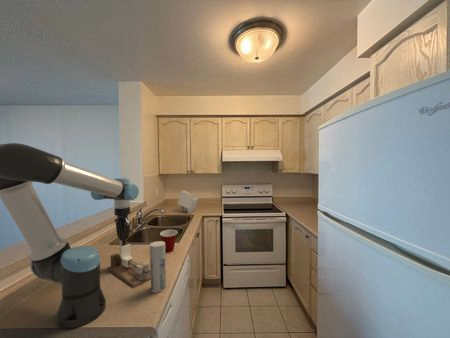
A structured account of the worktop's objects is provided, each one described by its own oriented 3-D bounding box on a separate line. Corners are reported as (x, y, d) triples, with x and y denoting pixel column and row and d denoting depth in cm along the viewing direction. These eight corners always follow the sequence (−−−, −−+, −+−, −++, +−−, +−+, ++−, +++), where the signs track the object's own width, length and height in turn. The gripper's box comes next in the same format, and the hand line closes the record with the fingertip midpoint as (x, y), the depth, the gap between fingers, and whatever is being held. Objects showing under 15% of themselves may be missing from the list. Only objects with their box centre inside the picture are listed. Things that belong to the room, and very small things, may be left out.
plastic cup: (159, 255, 128) (159, 235, 128) (160, 248, 138) (160, 230, 138) (178, 252, 131) (177, 233, 130) (177, 246, 141) (176, 228, 141)
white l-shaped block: (125, 267, 105) (124, 249, 105) (120, 265, 109) (120, 246, 108) (134, 264, 109) (134, 245, 109) (130, 261, 112) (129, 243, 112)
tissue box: (183, 207, 261) (188, 188, 258) (194, 212, 257) (200, 193, 254) (174, 211, 241) (181, 191, 238) (186, 216, 237) (193, 196, 234)
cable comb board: (134, 288, 93) (134, 272, 93) (107, 269, 110) (107, 256, 110) (158, 277, 102) (158, 262, 102) (129, 261, 120) (129, 248, 120)
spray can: (152, 284, 96) (152, 241, 95) (167, 284, 96) (166, 240, 96) (148, 293, 89) (147, 246, 89) (164, 292, 90) (163, 246, 89)
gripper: (135, 207, 110) (136, 251, 110) (123, 204, 118) (124, 246, 118) (121, 209, 104) (122, 256, 104) (109, 206, 112) (110, 250, 112)
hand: (123, 251), depth 111 cm, fingers closed
